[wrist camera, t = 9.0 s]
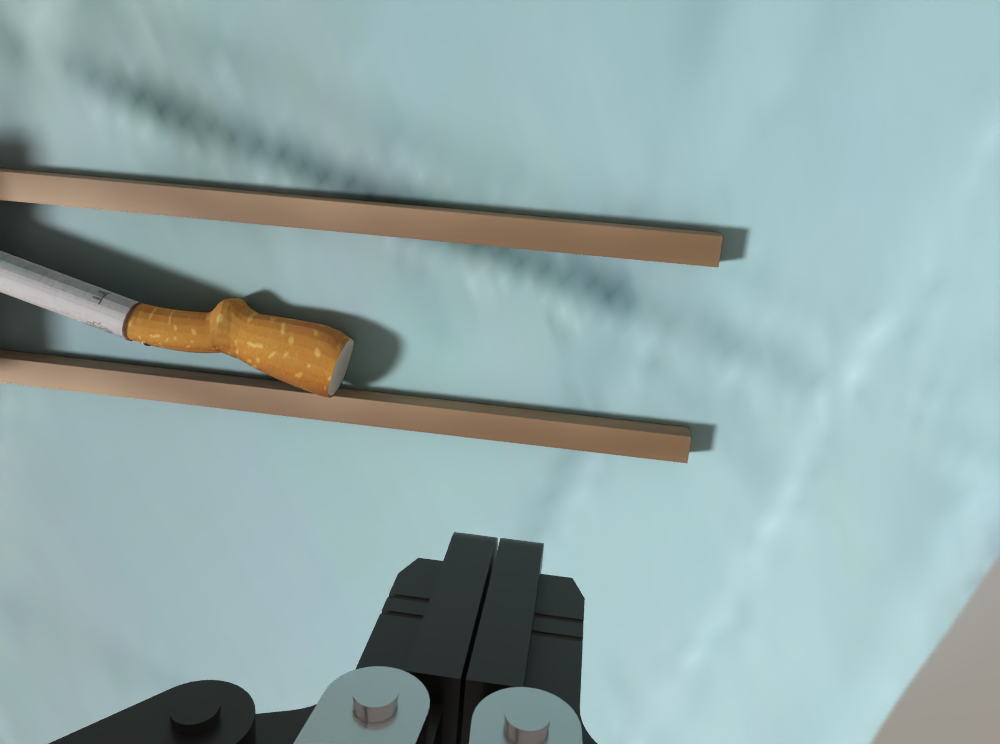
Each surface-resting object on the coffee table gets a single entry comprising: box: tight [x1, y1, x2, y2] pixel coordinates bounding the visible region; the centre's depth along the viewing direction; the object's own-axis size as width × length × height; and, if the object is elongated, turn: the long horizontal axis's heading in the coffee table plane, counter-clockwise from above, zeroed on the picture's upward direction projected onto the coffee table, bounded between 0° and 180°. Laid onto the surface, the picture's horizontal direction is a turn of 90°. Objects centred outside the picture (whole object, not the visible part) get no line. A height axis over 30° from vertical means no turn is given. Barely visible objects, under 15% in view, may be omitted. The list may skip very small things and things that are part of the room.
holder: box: [0, 168, 723, 463], centre depth 27 cm, size 8×35×5 cm, turn 86°
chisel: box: [0, 251, 354, 398], centre depth 29 cm, size 19×3×3 cm
